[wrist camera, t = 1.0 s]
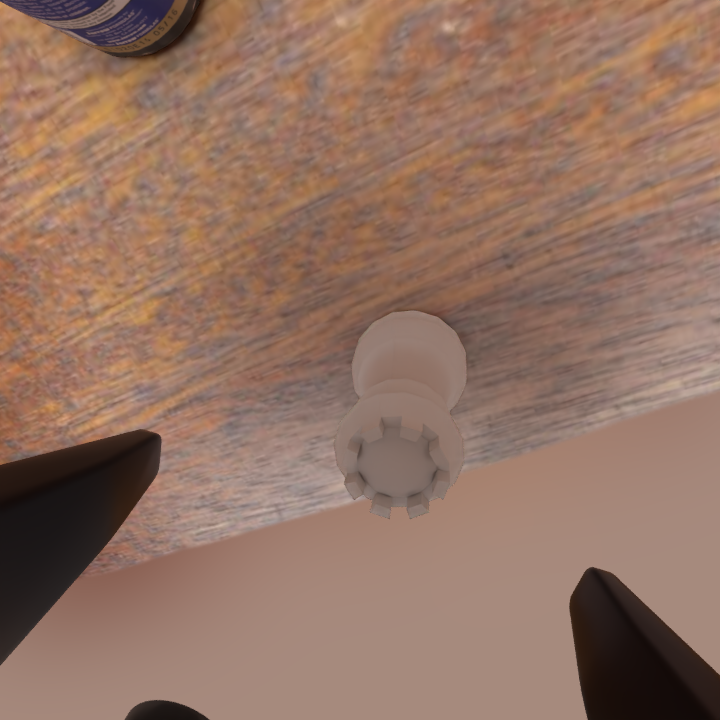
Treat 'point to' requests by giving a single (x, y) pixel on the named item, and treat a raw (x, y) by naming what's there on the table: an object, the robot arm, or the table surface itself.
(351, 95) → the table surface
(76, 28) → the pill bottle
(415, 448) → the rook chess piece
